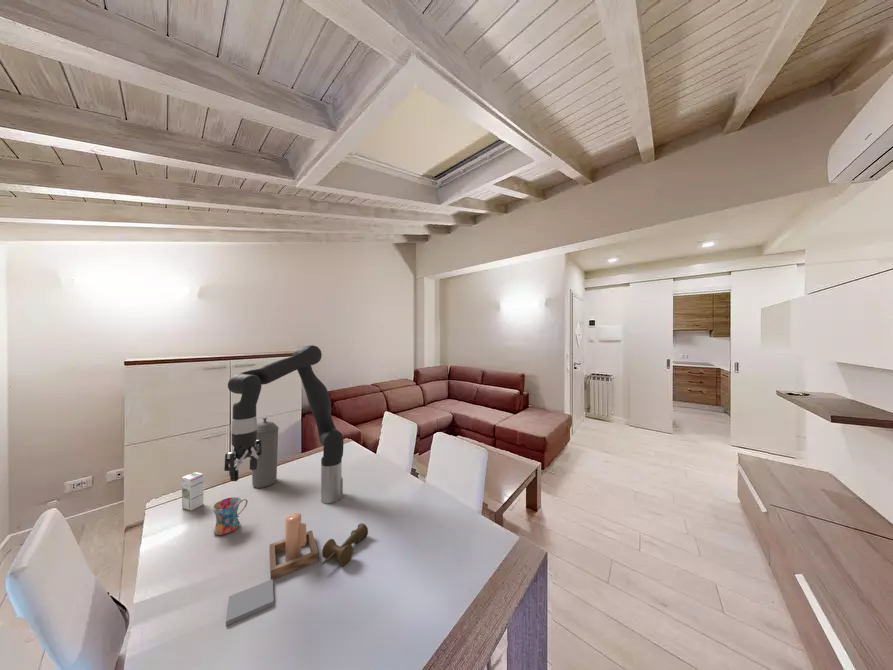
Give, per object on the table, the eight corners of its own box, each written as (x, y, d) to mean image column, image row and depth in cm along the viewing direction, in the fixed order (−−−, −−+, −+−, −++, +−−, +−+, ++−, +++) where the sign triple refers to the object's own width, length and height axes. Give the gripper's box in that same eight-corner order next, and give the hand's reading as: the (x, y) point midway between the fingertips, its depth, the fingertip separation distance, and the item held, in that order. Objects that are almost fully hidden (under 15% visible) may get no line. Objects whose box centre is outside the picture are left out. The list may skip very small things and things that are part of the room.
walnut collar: (312, 537, 111) (312, 530, 111) (318, 561, 99) (318, 552, 99) (269, 552, 103) (269, 544, 103) (270, 580, 91) (270, 570, 91)
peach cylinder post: (282, 562, 99) (282, 521, 99) (290, 551, 104) (290, 512, 104) (301, 563, 98) (301, 522, 99) (308, 552, 103) (309, 513, 104)
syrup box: (204, 504, 134) (204, 473, 134) (189, 511, 128) (189, 478, 128) (196, 502, 136) (196, 471, 136) (181, 509, 130) (181, 476, 130)
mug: (217, 540, 109) (217, 512, 110) (208, 531, 114) (208, 505, 115) (252, 523, 120) (252, 497, 120) (242, 516, 125) (242, 491, 125)
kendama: (373, 540, 110) (333, 578, 92) (354, 533, 114) (312, 568, 96) (373, 524, 111) (333, 558, 92) (354, 518, 115) (312, 550, 97)
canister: (272, 475, 162) (272, 413, 162) (282, 481, 154) (283, 416, 155) (246, 484, 152) (246, 418, 152) (256, 492, 144) (256, 422, 144)
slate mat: (272, 582, 90) (272, 579, 90) (273, 605, 83) (273, 600, 83) (229, 600, 84) (229, 596, 84) (225, 625, 77) (225, 621, 77)
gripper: (249, 423, 111) (249, 465, 110) (217, 436, 96) (217, 484, 96) (268, 424, 110) (267, 466, 110) (238, 436, 96) (238, 485, 96)
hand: (244, 474), depth 103 cm, fingers open, 8 cm apart
